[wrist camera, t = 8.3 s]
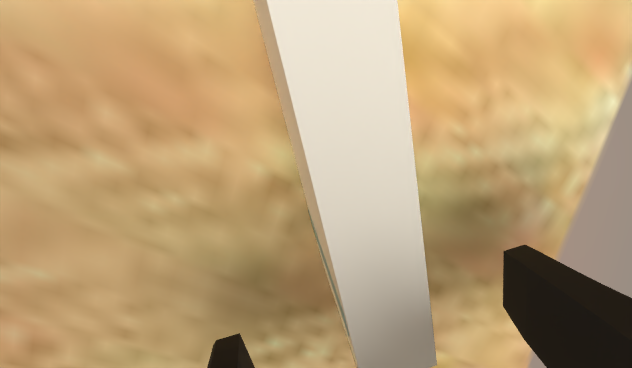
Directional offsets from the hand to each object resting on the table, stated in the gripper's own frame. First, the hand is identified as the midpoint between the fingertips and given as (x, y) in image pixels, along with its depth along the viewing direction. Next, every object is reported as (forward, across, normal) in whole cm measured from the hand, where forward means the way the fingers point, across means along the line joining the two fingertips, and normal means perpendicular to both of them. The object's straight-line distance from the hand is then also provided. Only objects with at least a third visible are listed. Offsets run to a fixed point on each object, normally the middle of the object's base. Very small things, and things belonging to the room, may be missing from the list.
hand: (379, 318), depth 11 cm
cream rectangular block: (+5, 0, -7) cm, 8 cm away
